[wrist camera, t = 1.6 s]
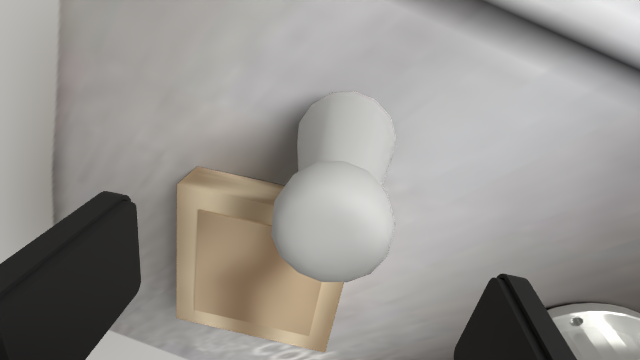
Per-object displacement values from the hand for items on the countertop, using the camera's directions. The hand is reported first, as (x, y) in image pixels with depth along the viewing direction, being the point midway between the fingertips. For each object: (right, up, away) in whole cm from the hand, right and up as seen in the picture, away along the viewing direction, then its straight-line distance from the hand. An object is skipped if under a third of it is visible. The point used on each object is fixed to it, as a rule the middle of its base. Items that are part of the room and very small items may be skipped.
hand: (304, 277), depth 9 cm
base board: (-4, -3, +19) cm, 19 cm away
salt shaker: (+2, +6, +14) cm, 15 cm away
